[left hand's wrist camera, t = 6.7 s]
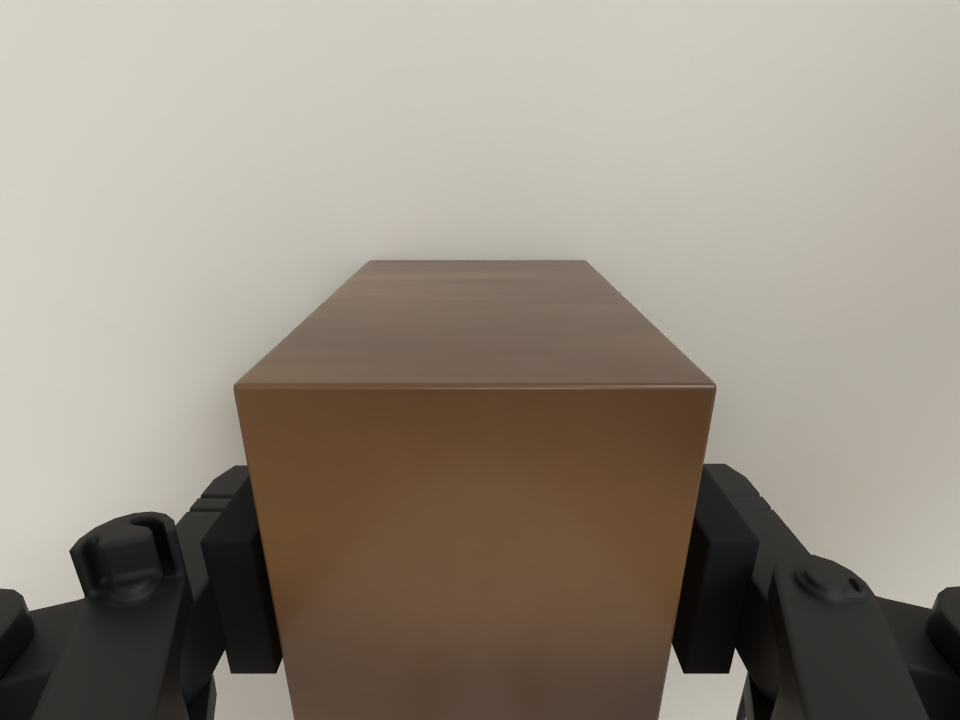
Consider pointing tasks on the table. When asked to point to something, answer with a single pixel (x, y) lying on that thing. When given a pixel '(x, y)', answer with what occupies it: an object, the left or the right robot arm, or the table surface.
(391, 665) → the beam
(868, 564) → the table surface
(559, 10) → the table surface
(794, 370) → the table surface
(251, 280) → the table surface
